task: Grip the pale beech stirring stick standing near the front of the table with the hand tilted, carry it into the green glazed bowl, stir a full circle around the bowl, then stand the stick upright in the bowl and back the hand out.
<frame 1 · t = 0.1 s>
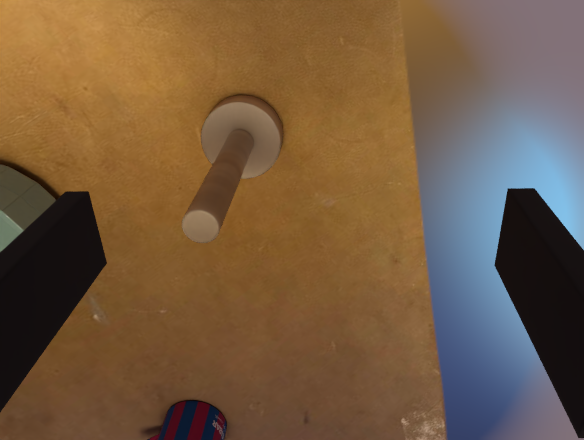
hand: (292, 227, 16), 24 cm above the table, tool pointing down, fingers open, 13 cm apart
bowl: (1, 234, 46), on the table
stick: (244, 133, 40), on the table
mug: (182, 421, 57), on the table
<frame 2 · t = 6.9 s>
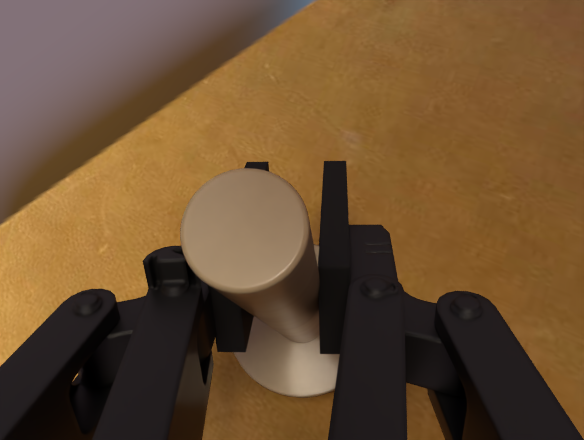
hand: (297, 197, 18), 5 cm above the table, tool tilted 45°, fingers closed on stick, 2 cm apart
stick: (304, 321, 22), on the table, touching gripper
when the fingers open (7 cm above the table, at t = 20.9 s): stick stays where it is, resting on bowl.
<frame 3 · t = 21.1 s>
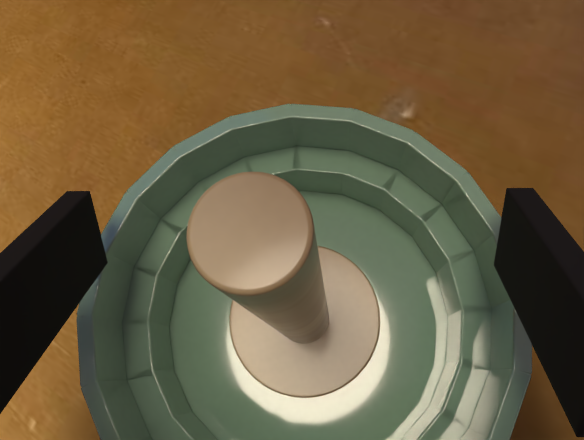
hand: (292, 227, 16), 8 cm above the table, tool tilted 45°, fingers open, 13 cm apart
bowl: (307, 323, 23), on the table
stick: (306, 322, 22), point 1 cm above the table, touching bowl
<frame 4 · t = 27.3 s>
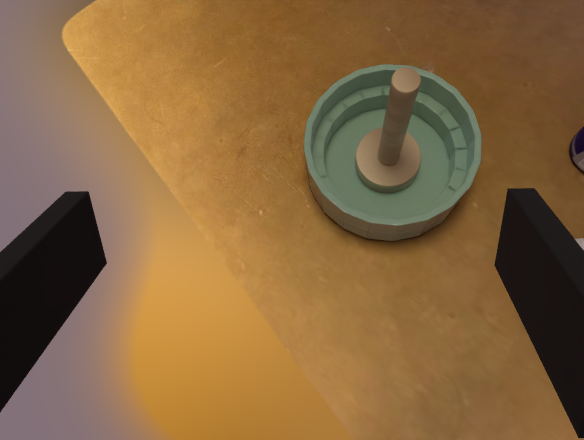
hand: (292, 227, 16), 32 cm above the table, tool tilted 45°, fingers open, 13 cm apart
bowl: (385, 167, 50), on the table
stick: (386, 164, 50), point 1 cm above the table, touching bowl
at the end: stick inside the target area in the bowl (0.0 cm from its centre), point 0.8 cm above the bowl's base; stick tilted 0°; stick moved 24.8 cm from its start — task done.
